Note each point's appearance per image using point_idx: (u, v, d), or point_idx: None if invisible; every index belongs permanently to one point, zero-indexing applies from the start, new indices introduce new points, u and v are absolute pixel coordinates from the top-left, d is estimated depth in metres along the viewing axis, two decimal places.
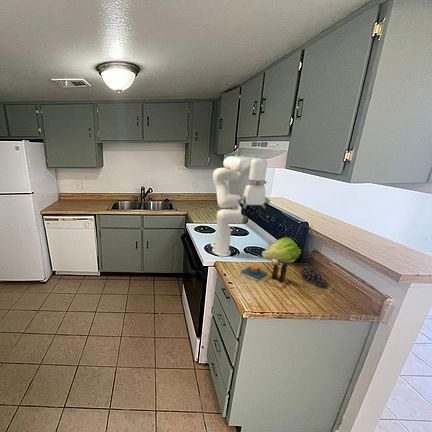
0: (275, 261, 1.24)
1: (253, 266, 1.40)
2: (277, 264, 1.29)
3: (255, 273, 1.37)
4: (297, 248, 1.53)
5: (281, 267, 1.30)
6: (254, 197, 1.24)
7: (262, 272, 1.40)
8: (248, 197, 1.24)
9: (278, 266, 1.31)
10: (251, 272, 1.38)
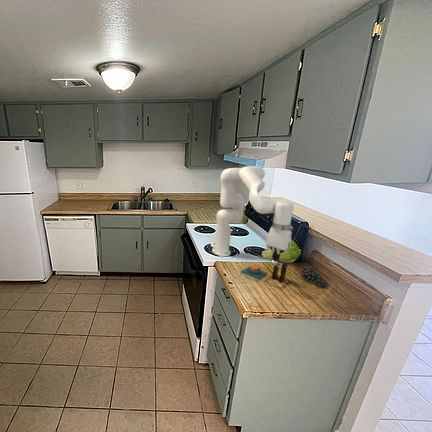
0: (275, 262, 1.24)
1: (253, 266, 1.40)
2: (277, 264, 1.29)
3: (255, 273, 1.37)
4: (297, 248, 1.53)
5: (281, 267, 1.30)
6: (274, 239, 1.21)
7: (262, 272, 1.40)
8: (268, 238, 1.23)
9: (278, 266, 1.31)
10: (251, 272, 1.38)
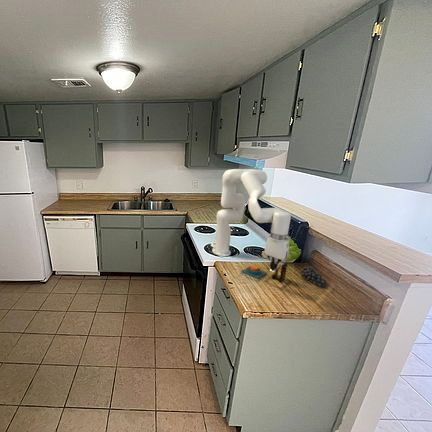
0: (272, 272, 1.25)
1: (253, 266, 1.40)
2: (276, 269, 1.29)
3: (255, 273, 1.37)
4: (297, 248, 1.53)
5: (281, 268, 1.31)
6: (272, 249, 1.22)
7: (262, 272, 1.40)
8: (266, 247, 1.24)
9: (278, 267, 1.32)
10: (251, 272, 1.38)
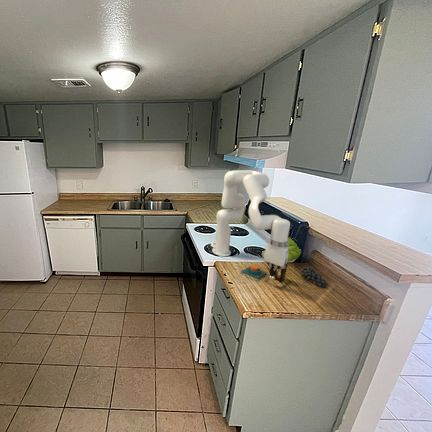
0: (271, 279, 1.27)
1: (253, 266, 1.40)
2: None
3: (255, 273, 1.37)
4: (297, 248, 1.53)
5: None
6: (271, 255, 1.24)
7: (262, 272, 1.40)
8: (265, 253, 1.26)
9: None
10: (251, 272, 1.38)
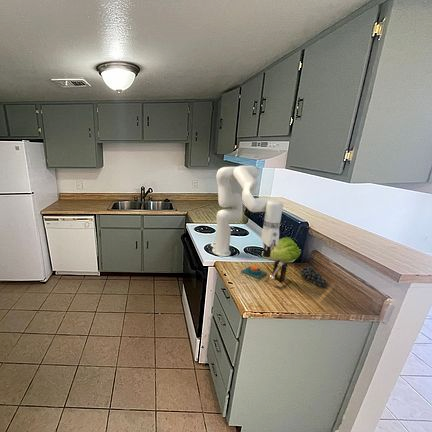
0: (271, 280, 1.27)
1: (253, 266, 1.40)
2: None
3: (255, 273, 1.37)
4: (297, 248, 1.53)
5: (281, 268, 1.31)
6: (264, 235, 1.28)
7: (262, 272, 1.40)
8: None
9: None
10: (251, 272, 1.38)
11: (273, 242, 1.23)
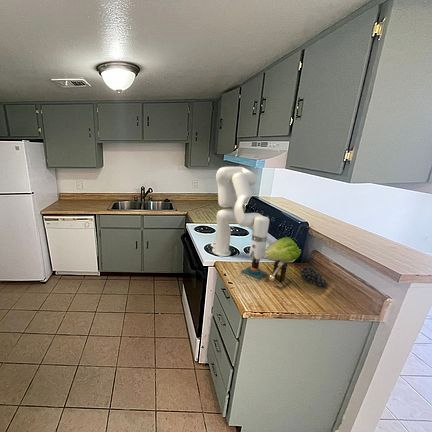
0: (271, 280, 1.27)
1: None
2: None
3: (255, 273, 1.37)
4: (297, 248, 1.53)
5: (281, 268, 1.31)
6: None
7: (262, 272, 1.40)
8: None
9: None
10: (251, 272, 1.38)
11: (253, 253, 1.34)
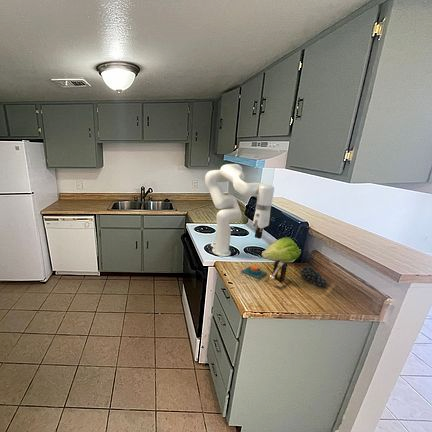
0: (271, 280, 1.27)
1: (253, 266, 1.40)
2: None
3: (255, 273, 1.37)
4: (297, 248, 1.53)
5: (281, 268, 1.31)
6: None
7: (262, 272, 1.40)
8: None
9: None
10: (251, 272, 1.38)
11: (257, 222, 1.34)
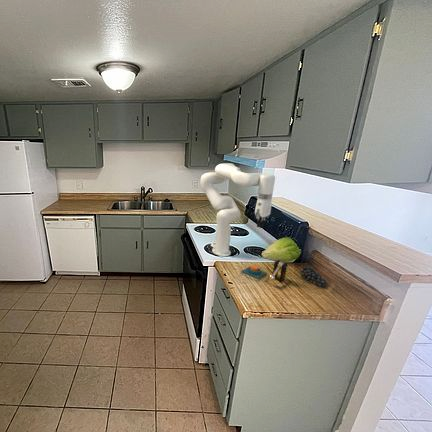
0: (271, 280, 1.27)
1: (253, 266, 1.40)
2: None
3: (255, 273, 1.37)
4: (297, 248, 1.53)
5: (281, 268, 1.31)
6: None
7: (262, 272, 1.40)
8: None
9: None
10: (251, 272, 1.38)
11: (258, 211, 1.36)
